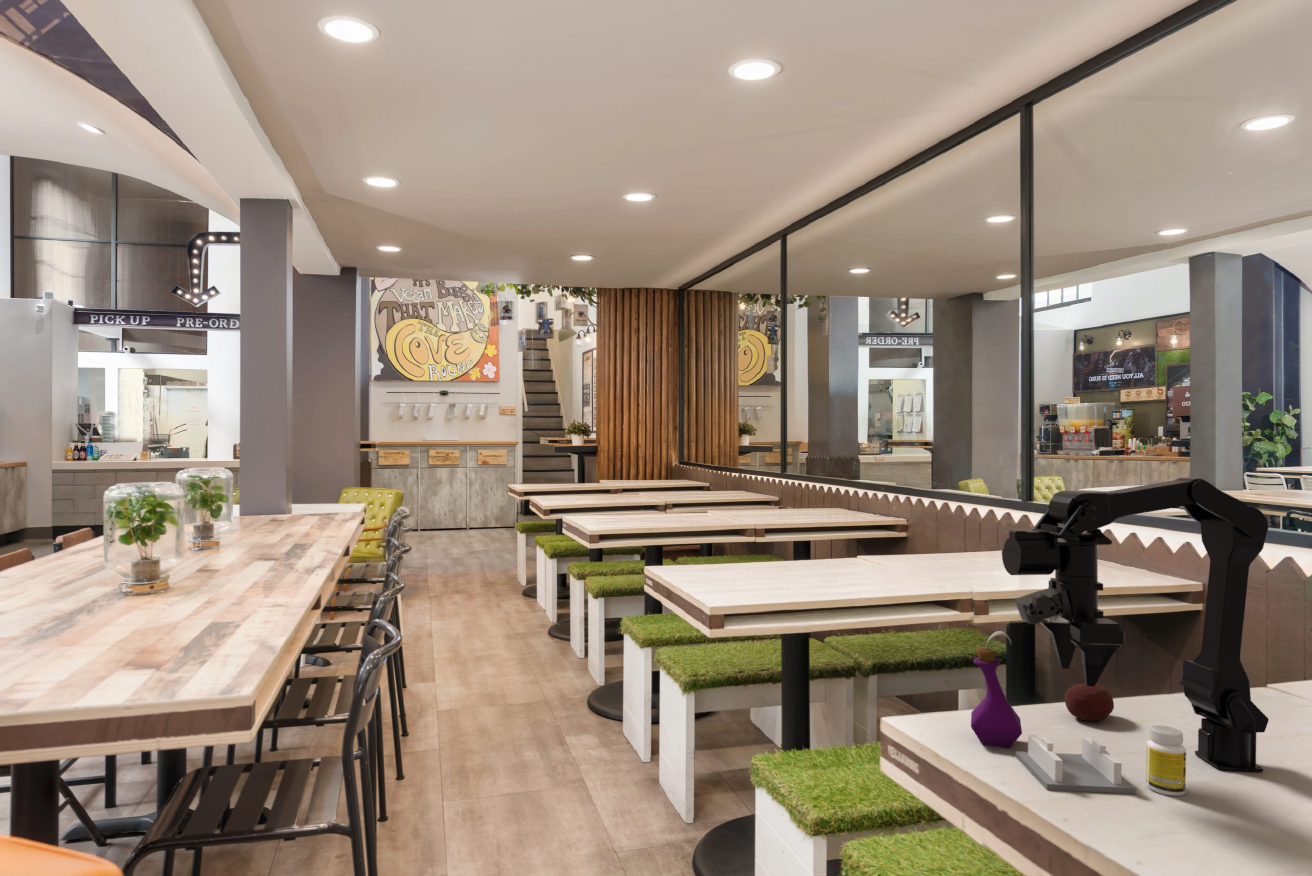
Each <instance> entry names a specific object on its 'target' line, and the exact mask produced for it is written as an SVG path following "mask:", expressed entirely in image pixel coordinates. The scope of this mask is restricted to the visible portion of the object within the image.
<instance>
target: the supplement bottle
mask: <svg viewBox="0 0 1312 876" xmlns="http://www.w3.org/2000/svg"><path fill="white" fill-rule="evenodd" d="M1183 744H1184V732H1183V731H1182V730H1180V729H1177V728H1175V727H1172V726H1167V725H1151V726H1150V727H1149V739H1148V740H1147V741H1146V749H1145V751H1146V752H1145V753H1146V755H1145V758H1146V760H1145V761H1146V762H1145V763H1146V764H1145V766H1146V767H1145V784H1146V786H1147V788H1148V789H1150V790H1151V791H1153V792H1156V793H1158V794H1160V795H1166V796H1169V797H1170V796H1171V797H1172V796H1173V797H1177V796H1178V797H1181V796H1184V795H1185V794H1186V788H1187V787H1186V786H1187V785H1186V780H1187V778H1186V774H1187V773H1186V772H1187V766H1186V765H1187V764H1186V763H1187V751H1186V748H1185V746H1184V745H1183Z"/></svg>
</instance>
